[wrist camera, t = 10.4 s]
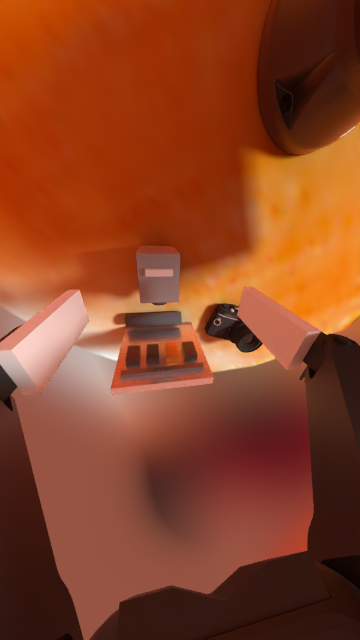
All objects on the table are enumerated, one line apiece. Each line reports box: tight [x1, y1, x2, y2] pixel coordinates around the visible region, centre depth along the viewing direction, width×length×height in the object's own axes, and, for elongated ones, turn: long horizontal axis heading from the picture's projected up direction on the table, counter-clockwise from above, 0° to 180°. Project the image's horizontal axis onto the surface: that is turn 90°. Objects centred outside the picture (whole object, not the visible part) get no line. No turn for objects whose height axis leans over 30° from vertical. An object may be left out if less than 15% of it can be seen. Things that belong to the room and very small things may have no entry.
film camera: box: [205, 303, 263, 352], centre depth 33 cm, size 13×8×10 cm
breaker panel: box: [111, 322, 214, 395], centre depth 26 cm, size 4×13×14 cm, turn 88°
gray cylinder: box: [125, 312, 181, 327], centre depth 30 cm, size 10×2×2 cm, turn 88°
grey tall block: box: [136, 245, 180, 305], centre depth 23 cm, size 7×5×9 cm
